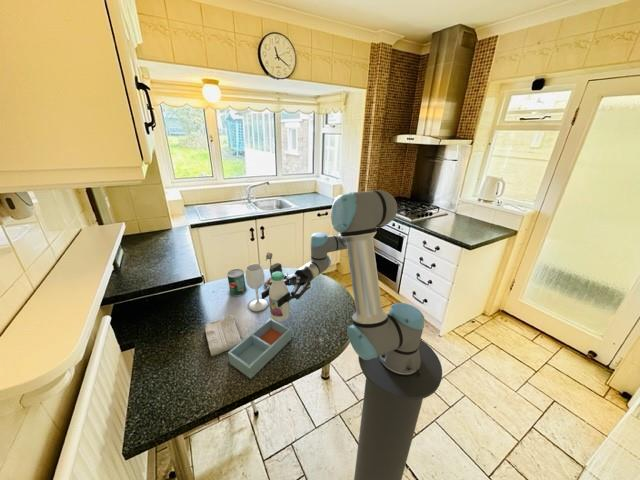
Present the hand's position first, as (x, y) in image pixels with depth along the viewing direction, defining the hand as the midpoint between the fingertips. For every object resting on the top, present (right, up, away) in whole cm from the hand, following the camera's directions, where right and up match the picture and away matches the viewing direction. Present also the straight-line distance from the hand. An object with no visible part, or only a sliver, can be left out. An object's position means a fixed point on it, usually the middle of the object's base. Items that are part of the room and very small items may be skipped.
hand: (270, 300), depth 97 cm
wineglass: (-10, -8, +25) cm, 28 cm away
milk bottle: (+3, -9, +8) cm, 12 cm away
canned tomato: (-23, -4, +35) cm, 42 cm away
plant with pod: (-6, -1, +42) cm, 42 cm away
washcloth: (-20, -17, +7) cm, 27 cm away
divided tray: (-3, -19, 0) cm, 20 cm away
